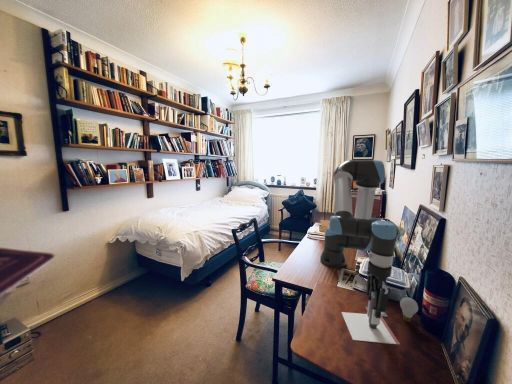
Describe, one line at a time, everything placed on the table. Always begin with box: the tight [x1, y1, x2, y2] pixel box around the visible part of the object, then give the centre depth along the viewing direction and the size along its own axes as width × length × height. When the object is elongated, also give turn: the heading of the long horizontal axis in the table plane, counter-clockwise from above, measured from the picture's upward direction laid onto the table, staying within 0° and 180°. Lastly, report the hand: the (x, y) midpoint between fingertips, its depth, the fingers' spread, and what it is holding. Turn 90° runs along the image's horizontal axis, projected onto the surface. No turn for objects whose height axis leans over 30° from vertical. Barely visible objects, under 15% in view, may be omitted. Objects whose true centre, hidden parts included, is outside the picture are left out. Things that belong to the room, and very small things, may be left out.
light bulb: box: [399, 296, 419, 323], centre depth 86 cm, size 6×6×10 cm
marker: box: [369, 291, 378, 329], centre depth 82 cm, size 3×3×14 cm
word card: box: [365, 306, 389, 318], centre depth 91 cm, size 5×7×1 cm
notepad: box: [341, 311, 401, 345], centre depth 83 cm, size 14×16×1 cm
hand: (373, 319), depth 83 cm, fingers closed on marker, 3 cm apart
